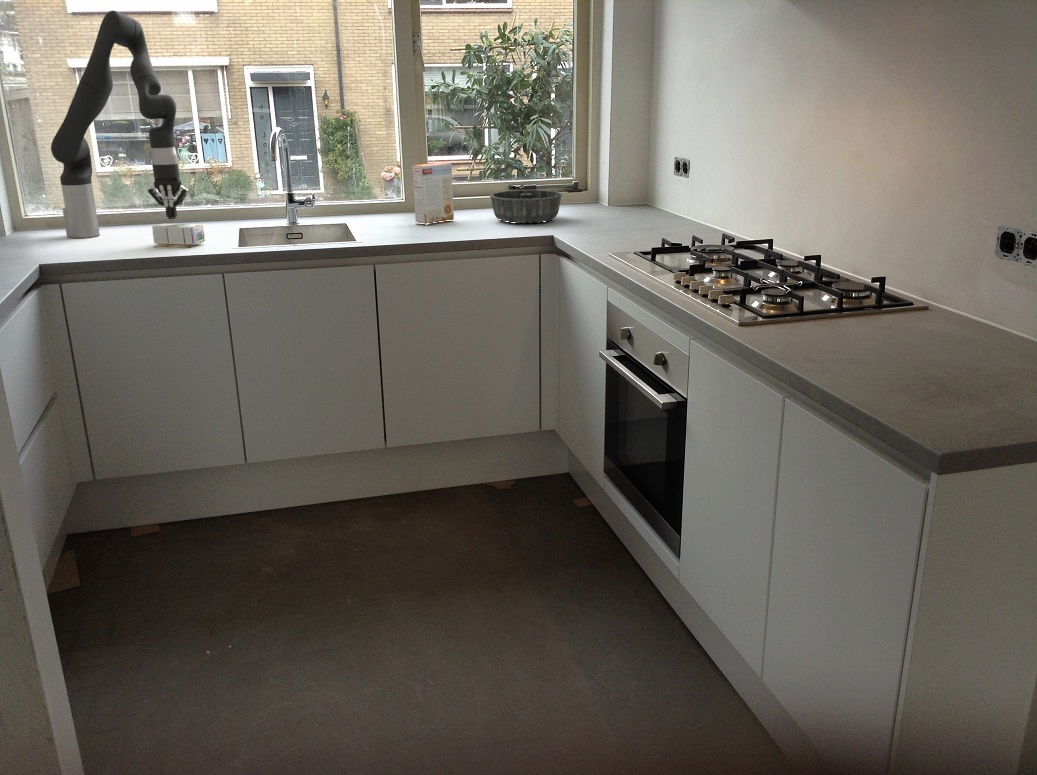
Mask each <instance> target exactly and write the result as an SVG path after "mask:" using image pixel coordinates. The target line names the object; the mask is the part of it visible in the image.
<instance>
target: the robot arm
mask: <svg viewBox="0 0 1037 775" xmlns="http://www.w3.org/2000/svg"><path fill="white" fill-rule="evenodd" d="M102 18H103V19H102V21H101V23H100V26H99V29H98V32H97V35H96V38H95V39H96V40H95V42H94V45H93V48H92V51H91V54H90V57H89V59H88V61H87V64H86V67H85V69H84V71H83V73H82V75H81V77H80V80H79V82H78V85H77V87H76V90H75V93H74V94H73V97H72V100H71V102H70V105H69V106H68V110H67V112H66V115H65V118H64V120H63V121H62V122H61V124H60V126H59V128H58V130H57V132H56V133H55V135H54V136H53V139H52V141H51V144H50V150H51V154H52V156H53V158H54V159H55V161H57V162H59V163H60V164H62V165H63V171H62V172H61V174H60V177H59V179H60V185H61V191H62V197H63V204H64V207H62V214H63V221H64V226H65V232H66V237H67V238H73V239H81V238H82V239H86V238H94V237H99V236H100V228H99V221H98V215H97V213H98V212H97V208H96V207H97V206H96V201H95V200H96V199H95V194H94V189H93V183H92V176H93V165H92V156H91V150H90V147H89V146H90V145H89V143H88V140H86V138H85V136H86V133H87V131H88V129H89V127H90V126H91V124H92V123H93V122H94V120H96V119H97V117H98V116H100V113H101V112H102V111H103V110H104V108H105V107H106V104H107V103H108V100H109V98H110V95H111V94H112V91H113V89H114V88H113V85H114V83H113V82H114V81H113V76H112V70H111V63H110V61H111V60H110V58H111V55H112V54H111V53H112V50H113V47H114V45H115V44H116V45H118V46H120V47H123V48H126V49H128V51H129V52H130V54H131V56H132V57H133V58H132V60H131V64H130V66H129V67H130V68H129V70H130V71H129V73H130V75H131V79H132V82H133V83H134V87H135V88H136V92H137V95H138V109H139V113H140V115H141V116H143V117H144V118H145V119H147V120H162V123H161V124H160V125H159V126H155V127H152V128H149V130H148V131H149V132H148V138H149V143H150V156H151V158H150V159H151V166H152V171H153V172H152V173H153V178H154V181H153V186H152V187H151V188H149V189H147V192H148V193H149V195H150V196H151V197H152V199H153V200H154V201H155V202H156V203H157V204H158V205H159V206H163V207H164V208H165V215H166V217H167V218H168V220H174V219H177V217H178V213H177V206H179V205H182V204H183V202H184V201H185V199H186V197H187V196H188V194H189V192H190V189H189V188H188V187H187V188H186V187H185V186H184V185H183V184H182V181H181V177H180V169H179V158H178V155H177V150H176V145H175V136H174V134H175V133H174V130H175V121H176V120H175V119H176V115H177V103H176V101H175V99H174V98H173V97H172V96H171V95H169V94H160V93H161V92H162V85H161V82H160V81H159V78H158V76H157V74H156V72H155V70H154V67H153V65H152V62H151V58H150V54H149V53H150V52H149V48H148V44H147V40H146V36H145V32H144V29H143V26H142V24H141V23H140V22H139V21H138V20H137V19H135V18H133V17H130V16H128V15H126V14H124V13H122V12H119V11H117V10H109V11H108V12H106V14H105V15H104V17H102ZM159 193H160V194H159ZM178 194H179V195H178Z"/></svg>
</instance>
